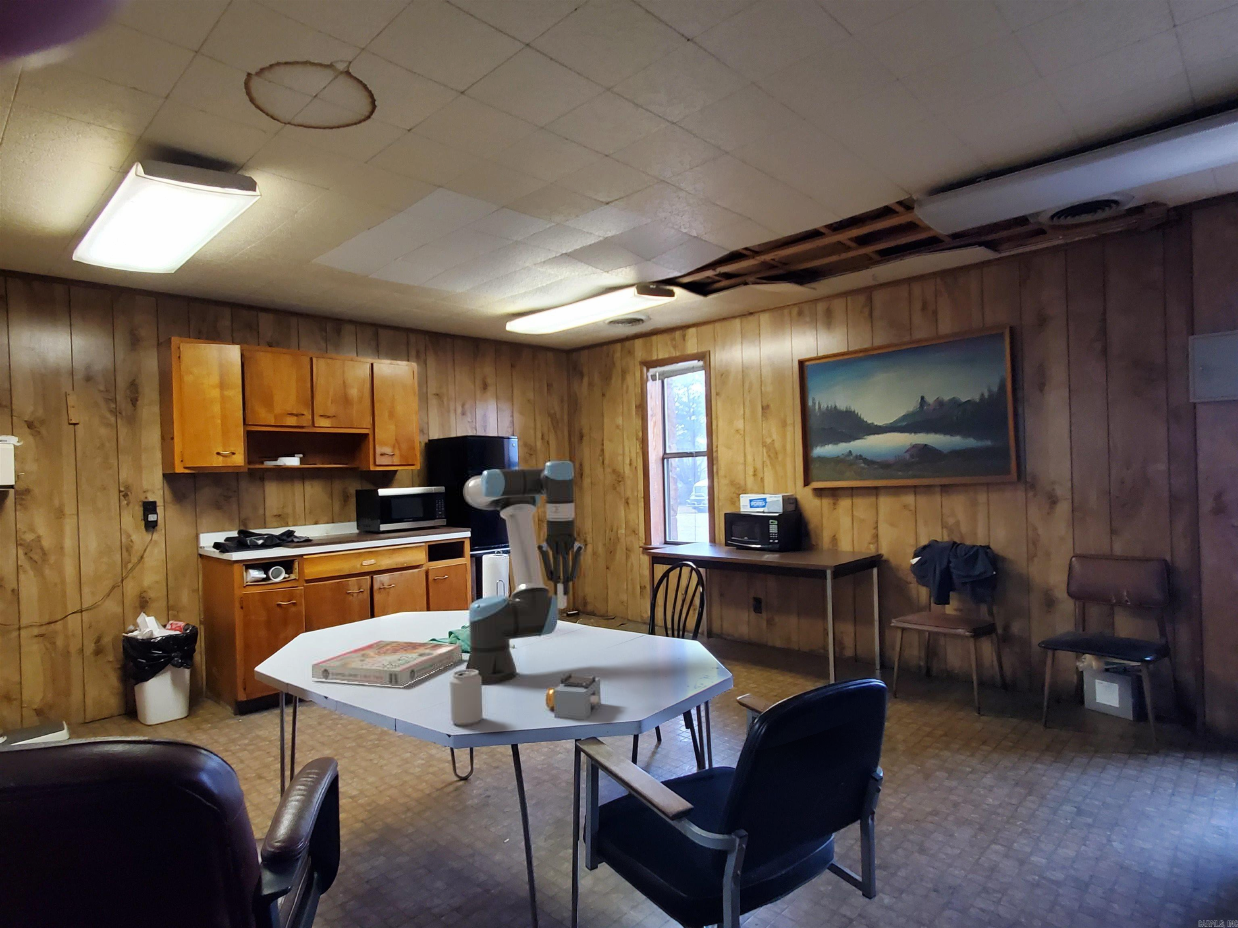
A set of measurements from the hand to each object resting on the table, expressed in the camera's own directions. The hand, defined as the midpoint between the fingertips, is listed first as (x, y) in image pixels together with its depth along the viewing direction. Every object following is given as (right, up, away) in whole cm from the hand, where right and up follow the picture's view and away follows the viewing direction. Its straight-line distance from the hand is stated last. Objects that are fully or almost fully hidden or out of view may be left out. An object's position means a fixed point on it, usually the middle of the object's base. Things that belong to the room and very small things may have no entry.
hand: (562, 607), depth 186 cm
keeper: (+5, -17, -11) cm, 21 cm away
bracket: (+5, -24, -11) cm, 27 cm away
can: (-22, -25, -17) cm, 37 cm away
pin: (+4, -23, -11) cm, 26 cm away
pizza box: (-57, -27, +34) cm, 72 cm away
